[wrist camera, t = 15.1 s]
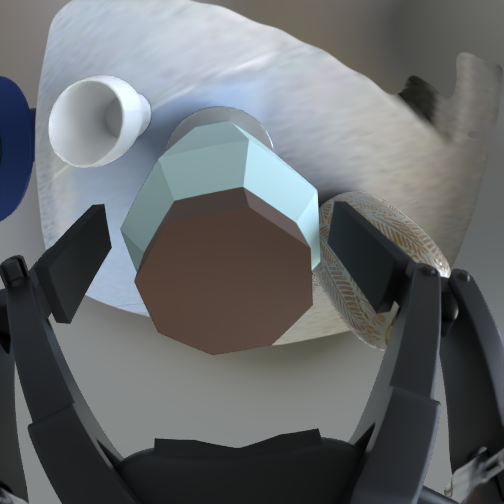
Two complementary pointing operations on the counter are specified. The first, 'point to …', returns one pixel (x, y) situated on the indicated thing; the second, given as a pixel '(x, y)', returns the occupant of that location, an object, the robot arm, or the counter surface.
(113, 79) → the cup
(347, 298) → the vase
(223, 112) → the navy round container
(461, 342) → the robot arm
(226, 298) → the water bottle
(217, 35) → the counter surface
